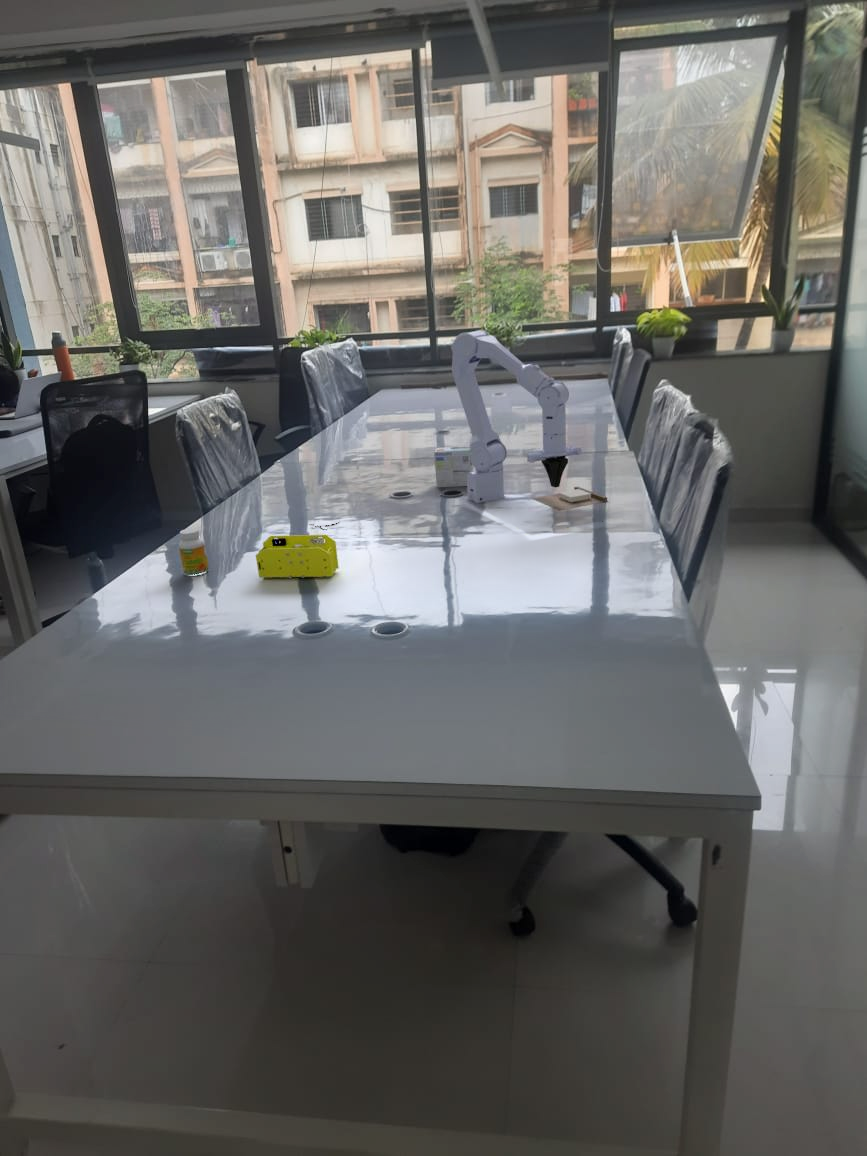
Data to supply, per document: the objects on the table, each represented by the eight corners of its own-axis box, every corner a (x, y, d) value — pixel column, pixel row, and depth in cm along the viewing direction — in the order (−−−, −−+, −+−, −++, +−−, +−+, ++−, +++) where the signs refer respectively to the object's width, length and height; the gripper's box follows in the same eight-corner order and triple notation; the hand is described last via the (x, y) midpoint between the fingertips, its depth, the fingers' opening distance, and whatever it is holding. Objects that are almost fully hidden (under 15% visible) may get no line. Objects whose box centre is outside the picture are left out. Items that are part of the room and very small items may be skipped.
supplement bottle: (184, 578, 171) (175, 535, 168) (184, 571, 176) (176, 529, 172) (209, 574, 172) (201, 532, 169) (209, 567, 177) (201, 525, 174)
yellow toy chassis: (339, 571, 169) (335, 533, 166) (332, 580, 164) (327, 542, 161) (268, 572, 172) (262, 535, 169) (259, 581, 166) (253, 543, 163)
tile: (570, 497, 200) (591, 493, 202) (558, 492, 206) (578, 488, 208) (570, 503, 201) (591, 499, 203) (558, 498, 206) (578, 494, 208)
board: (559, 514, 196) (559, 506, 195) (531, 502, 208) (531, 494, 207) (607, 505, 201) (607, 497, 200) (577, 494, 213) (577, 486, 212)
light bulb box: (473, 480, 236) (471, 445, 232) (472, 486, 230) (470, 449, 226) (438, 482, 237) (435, 446, 234) (436, 488, 231) (433, 451, 227)
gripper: (536, 439, 191) (537, 494, 195) (588, 431, 195) (588, 484, 200) (522, 435, 197) (524, 488, 201) (572, 427, 202) (573, 479, 206)
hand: (555, 486), depth 201 cm, fingers closed
